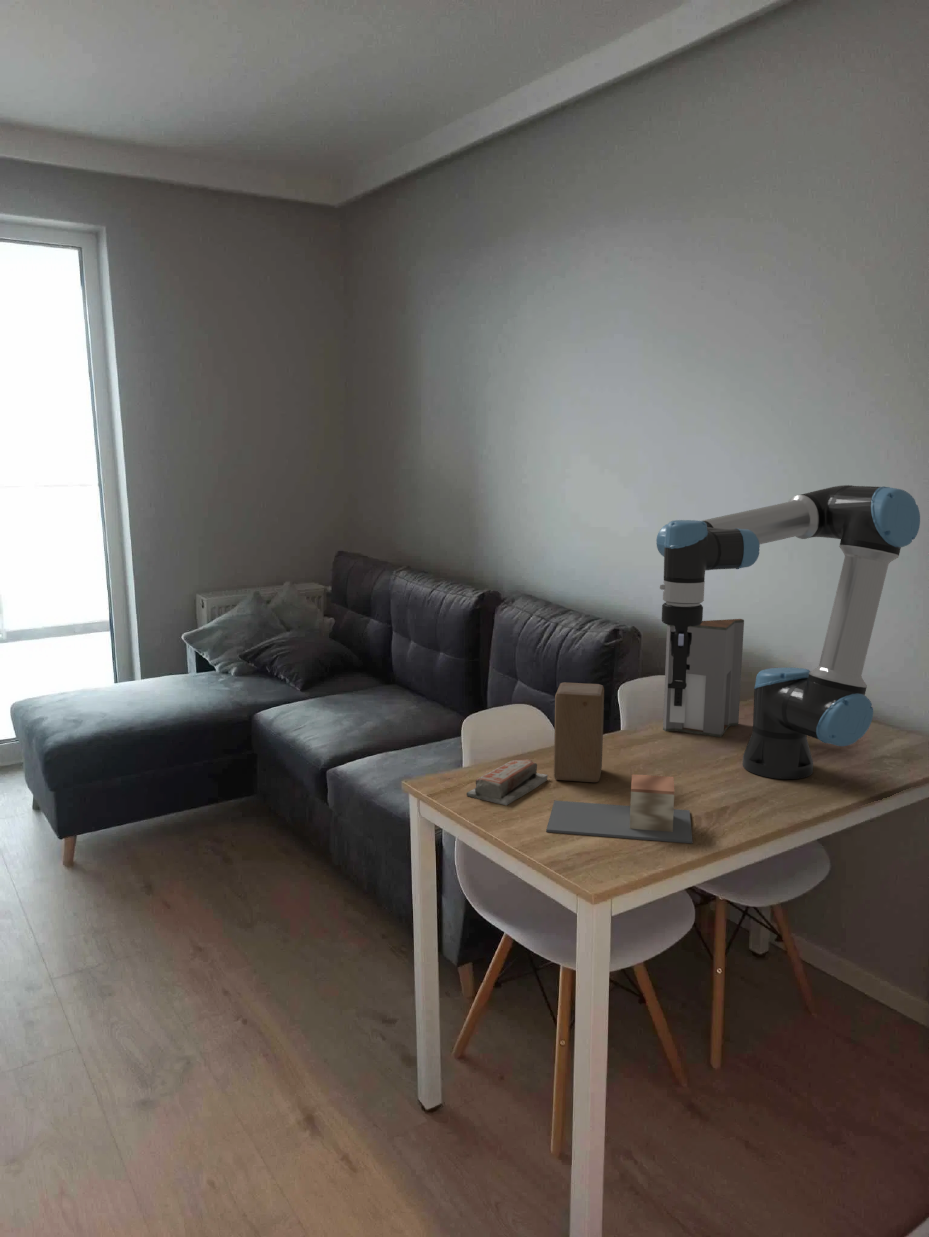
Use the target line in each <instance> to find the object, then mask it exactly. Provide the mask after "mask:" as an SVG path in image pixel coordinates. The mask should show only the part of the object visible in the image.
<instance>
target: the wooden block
mask: <svg viewBox="0 0 929 1237" xmlns="http://www.w3.org/2000/svg"><path fill="white" fill-rule="evenodd" d="M604 700H605V688H604V685H602V684H599V683H581V682H579V683H578V682H565V681H564V682H560V683H559V685H558V688H557V691H556V693H555V696H554V706H555V707H554V740H553V742H554V744H553V753H554V754H553V777H554V779H555V780H557V781H568V782H569V781H571V782H583V783H585V782H586V783H598V782H599V781H600V779H601V775H602V774H601V772H602V769H603V768H602V767H603V743H604V742H603V741H604V738H603V737H604V708H605V706H604V705H605V704H604V703H605V702H604Z"/></svg>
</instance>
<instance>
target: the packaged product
mask: <svg viewBox="0 0 929 1237" xmlns="http://www.w3.org/2000/svg"><path fill="white" fill-rule="evenodd" d="M548 777H549V775H548V774H544V773H539V772H538V764H537V762H534V761H533V760H531V759H517V760H515V759H514V760H510V761H508V762H506V763H504V764H503V765H501V766H499V767H497V768H495V769H493V770H491V771H490V772H487V773H486V774H483V775H482V776H480V777H477V778H476V779H475V788H473V789H471V790H469V791H468V792H466V796H467V797H469V798H473V799H477V800H483V801H485V802H491V803H495V804H499V805H501V806H502V805H503V806H508V805H510V804H511V803H513V802H515V801H516V800H518V799H519V798H520V799H521V798H522V797H523V796H525V795H526V794H528V793H530V792H532V791H533V790H535V789H536V788H538V787H539V786H541V785H543V784H544V783H545V782H546V781H548Z"/></svg>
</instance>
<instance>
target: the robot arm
mask: <svg viewBox="0 0 929 1237" xmlns="http://www.w3.org/2000/svg"><path fill="white" fill-rule="evenodd" d="M919 509H920V508H919V505H918V504H917V503H916V499H915V498H914V496H912V495H911V494H910V493H909V492H907V491H906V490H904V489H901V488H895V487H890V486H867V485H866V486H865V485H849V484H848V485H847V484H845V485H836V486H831V487H826V488H822V489H817V490H814V491H809V492H805V493H803V494H797V495H794V496H792V497H791V498H790V499H789V500H788V501H787V502H782V503H777V504H773V505H768V506H764V507H758V508H755V509H753V508H752V509H749V510H746V511H745V510H744V511H740V512H736V513H731V514H727V515H721V516H717V517H712V518H708V519H703V520H695V519H693V520H691V519H679V520H678V519H676V520H671V521H669V522H668V523H667V524H664V525H663V526H662V527H661V528H660V529H659V531H658V532H657V535H656V540H655V541H656V549H657V550H658V553H659V554H660V555H661V556H662V557H663V584H660V585H659V590H662V600H663V601H664V602H663V603H662V606H661V622H662V624H665V625H666V626H667V625H674V626H675V632H671V636H670V643H671V656H673V671H672V683H671V684H669V683H668V688H671V701H670V722H678V723H684V722H685V702H686V686H687V684H686V672H687V671H686V670H690V665H688V664H687V657H689V655H690V645H691V643H692V633H691V632H688V627H689V626H698V625H700V624H701V623H702V621H703V617H704V615H703V614H704V606H703V605H702V604H703V602H704V601H705V584H706V583H705V582H706V581H705V579H706V578H705V577H706V571H711V570H713V571H714V570H716V571H717V570H731V569H734V570H739V569H745V568H749V567H751V566H752V565H754V564H755V563H756V562H757V561H758V558H759V556H760V547H761V545H763V544H767V543H772V542H776V541H781V540H785V539H786V540H787V539H790V538H795V537H796V538H797V539H800V540H806V539H807V540H808V539H812V538H827V539H829V538H830V539H835V540H836V539H837V540H840V542H839V546H838V547H839V548H840V550H841V551H842V553H843V554H844V559H843V563H842V567H841V571H840V575H839V580H838V584H837V587H836V591H835V596H834V601H833V605H832V609H831V613H830V617H829V621H828V625H827V629H826V634H825V637H824V642H823V647H822V650H821V653H820V654H821V655H820V658H819V663H818V666H816V668H814V669H813V670H809V669H806V668H802V667H772V668H765V669H762V670H760V671H759V672H758V673H757V674H756V678H755V683H754V684H755V685H754V687H753V688H754V690H753V715H752V717H753V718H752V733H751V736H750V737H749V741H748V742H747V745H746V747H745V750H744V753H743V755H742V767H743V768H744V769H745V770H746V771H748V772H750V773H752V774H753V775H754V774H755V775H757V776H761V777H765V778H771V779H778V780H797V779H798V780H799V779H804V778H808V777H810V776H811V775H813V772H814V771H813V770H814V761H813V757H812V753H811V749H810V746H809V742H808V737H811V738H813V739H816V740H818V741H820V742H822V743H823V744H831V745H833V746H836V747H846V746H850V745H853V744H855V743H856V742H858V740H859V739H861V738H862V737H864V735H865V734H866V732H867V731H868V730H869V728H870V727H871V724H872V722H873V717H874V707H873V706H872V705H873V703H872V701H871V699H869V698H868V697H867V696H866V692H867V691H866V690H867V688H868V687H867V686H868V685H867V683H866V682H865V681H864V680H865V679H863V677H862V675H863V671H864V668H865V667H864V666H865V664H866V663H865V662H866V659H867V658H866V657H867V654H868V650H869V646H870V643H871V639H872V638H871V637H872V635H873V634H872V633H873V629H874V626H875V621H876V618H877V614H878V609H879V605H880V601H881V597H882V594H883V592H882V591H883V589H884V583H885V581H886V576H887V572H888V568H889V565H890V563H891V562H894V561H895V560H896V559H898V558H899V556H900V553H901V549H902V548H903V547H906V546H909V545H910V544H911V543H912V542H913V540H915V538H916V537H917V535H918V533H919V530H920V525H921V512H920V510H919ZM701 603H702V604H701Z"/></svg>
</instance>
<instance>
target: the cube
mask: <svg viewBox="0 0 929 1237" xmlns="http://www.w3.org/2000/svg"><path fill="white" fill-rule="evenodd" d="M629 806H630V829H642V830H655V831H668V832H673V813H674V809H675V779H674V776H666V775H665V776H664V775H650V774H633V773H632V774H631V784H630V804H629Z"/></svg>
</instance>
